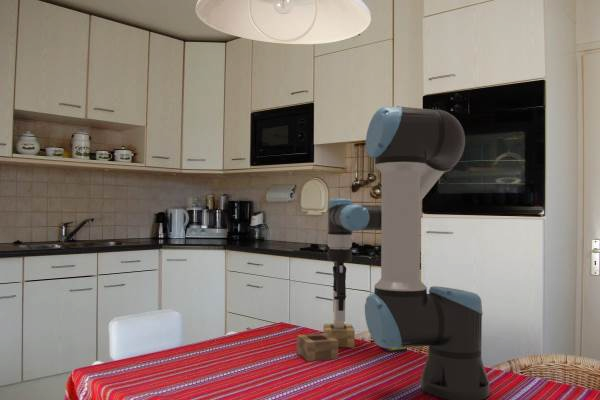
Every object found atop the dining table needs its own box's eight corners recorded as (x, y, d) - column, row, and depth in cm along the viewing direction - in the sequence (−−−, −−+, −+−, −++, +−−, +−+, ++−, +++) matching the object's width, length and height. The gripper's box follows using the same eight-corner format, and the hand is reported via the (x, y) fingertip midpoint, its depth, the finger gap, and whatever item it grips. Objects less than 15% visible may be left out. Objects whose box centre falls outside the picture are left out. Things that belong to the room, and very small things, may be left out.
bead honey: (354, 347, 152) (354, 330, 152) (324, 346, 152) (324, 330, 152) (351, 339, 161) (351, 324, 161) (323, 339, 161) (323, 323, 161)
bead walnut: (338, 358, 140) (338, 340, 140) (307, 361, 137) (308, 342, 137) (325, 350, 148) (325, 333, 148) (296, 352, 145) (297, 335, 145)
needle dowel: (344, 344, 155) (344, 298, 155) (333, 344, 155) (334, 298, 155) (343, 342, 158) (344, 297, 158) (333, 341, 158) (333, 297, 158)
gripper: (356, 251, 145) (354, 325, 144) (348, 245, 170) (347, 309, 169) (329, 250, 145) (328, 325, 144) (325, 245, 170) (324, 308, 169)
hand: (338, 316), depth 157 cm, fingers open, 13 cm apart
